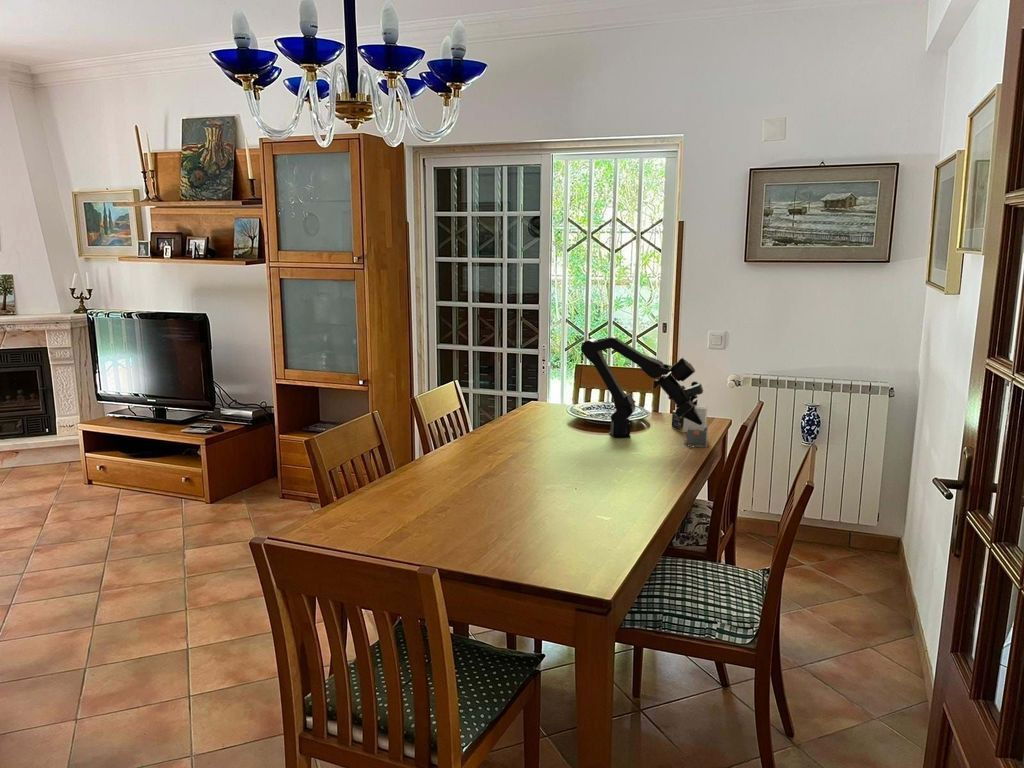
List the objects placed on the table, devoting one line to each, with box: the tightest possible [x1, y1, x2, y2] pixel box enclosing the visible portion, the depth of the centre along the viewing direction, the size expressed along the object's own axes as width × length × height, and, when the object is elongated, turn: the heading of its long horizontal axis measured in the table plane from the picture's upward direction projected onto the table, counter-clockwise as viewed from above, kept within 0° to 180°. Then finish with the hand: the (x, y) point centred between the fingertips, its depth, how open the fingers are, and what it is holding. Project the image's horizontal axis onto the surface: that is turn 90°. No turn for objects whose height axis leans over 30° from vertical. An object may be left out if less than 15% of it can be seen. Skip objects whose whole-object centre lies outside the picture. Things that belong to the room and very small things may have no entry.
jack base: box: [683, 426, 711, 448], centre depth 268 cm, size 9×9×6 cm
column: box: [690, 404, 708, 432], centre depth 267 cm, size 5×5×12 cm
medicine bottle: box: [671, 409, 691, 433], centre depth 286 cm, size 7×7×12 cm
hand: (702, 422), depth 266 cm, fingers closed on column, 5 cm apart
